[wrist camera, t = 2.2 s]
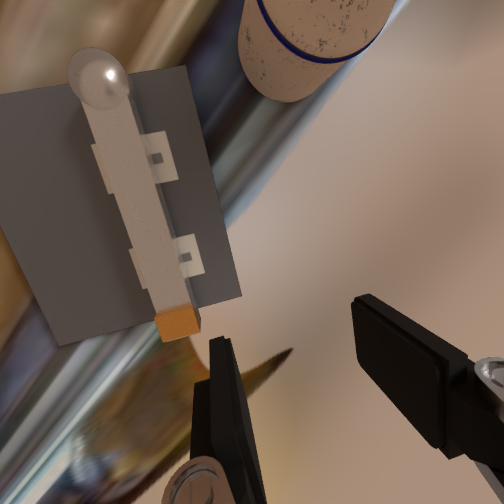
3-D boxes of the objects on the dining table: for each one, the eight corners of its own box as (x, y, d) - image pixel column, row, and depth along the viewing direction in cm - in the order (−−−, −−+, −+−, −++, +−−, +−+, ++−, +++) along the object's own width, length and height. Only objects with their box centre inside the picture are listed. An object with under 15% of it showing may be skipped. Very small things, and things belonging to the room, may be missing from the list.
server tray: (187, 73, 22) (185, 61, 20) (240, 290, 27) (243, 298, 25) (-41, 110, 20) (-69, 101, 18) (67, 337, 25) (55, 350, 23)
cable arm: (78, 70, 18) (53, 47, 15) (128, 62, 19) (113, 38, 16) (167, 327, 24) (161, 347, 21) (203, 317, 25) (203, 335, 22)
